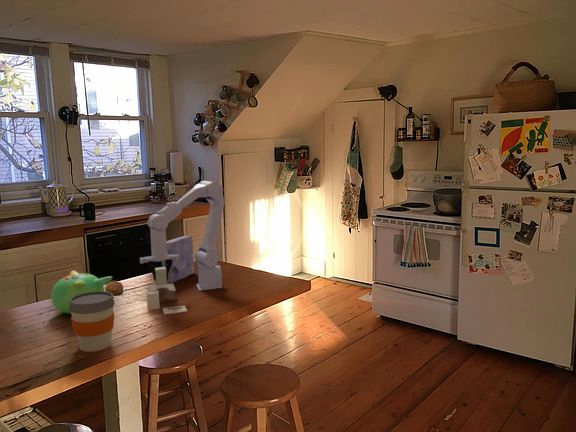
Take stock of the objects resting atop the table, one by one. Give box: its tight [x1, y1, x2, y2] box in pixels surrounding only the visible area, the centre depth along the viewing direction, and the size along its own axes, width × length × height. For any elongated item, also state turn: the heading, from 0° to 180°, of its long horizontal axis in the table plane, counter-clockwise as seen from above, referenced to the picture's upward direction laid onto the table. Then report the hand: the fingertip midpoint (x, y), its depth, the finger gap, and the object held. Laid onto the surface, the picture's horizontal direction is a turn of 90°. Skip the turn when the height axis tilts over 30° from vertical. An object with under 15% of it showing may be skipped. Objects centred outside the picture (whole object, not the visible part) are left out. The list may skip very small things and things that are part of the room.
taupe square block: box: [147, 282, 177, 303], centre depth 191 cm, size 10×10×4 cm
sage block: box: [154, 266, 168, 286], centre depth 190 cm, size 4×4×6 cm
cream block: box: [146, 290, 161, 311], centre depth 179 cm, size 4×4×6 cm
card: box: [162, 305, 188, 315], centre depth 176 cm, size 8×6×1 cm
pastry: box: [104, 280, 124, 296], centre depth 199 cm, size 9×7×4 cm
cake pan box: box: [161, 235, 195, 284], centre depth 217 cm, size 19×5×18 cm, turn 158°
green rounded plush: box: [50, 270, 113, 315], centre depth 175 cm, size 18×17×15 cm
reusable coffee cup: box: [69, 290, 115, 353], centre depth 146 cm, size 13×13×15 cm
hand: (160, 279), depth 190 cm, fingers closed on sage block, 4 cm apart
